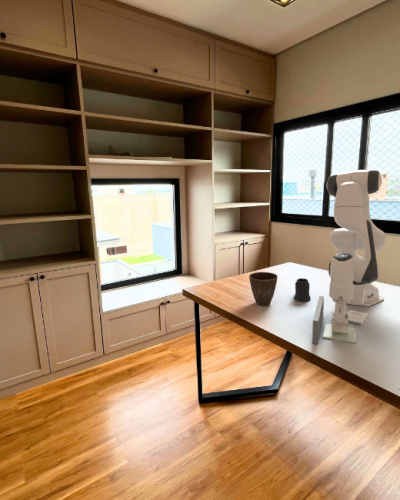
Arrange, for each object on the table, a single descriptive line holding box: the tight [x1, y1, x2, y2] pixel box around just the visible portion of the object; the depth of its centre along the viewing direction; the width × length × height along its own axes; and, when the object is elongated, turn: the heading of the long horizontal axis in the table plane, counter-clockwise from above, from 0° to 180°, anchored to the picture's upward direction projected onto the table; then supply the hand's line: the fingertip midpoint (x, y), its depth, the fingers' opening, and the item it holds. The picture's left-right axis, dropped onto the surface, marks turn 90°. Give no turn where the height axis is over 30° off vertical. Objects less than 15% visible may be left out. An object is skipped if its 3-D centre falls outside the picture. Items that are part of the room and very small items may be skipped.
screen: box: [311, 295, 325, 345], centre depth 127 cm, size 28×2×10 cm, turn 153°
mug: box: [293, 277, 312, 303], centre depth 162 cm, size 12×9×11 cm
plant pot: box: [248, 271, 278, 307], centre depth 157 cm, size 15×15×16 cm
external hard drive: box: [346, 309, 369, 326], centre depth 135 cm, size 2×8×12 cm
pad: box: [322, 323, 357, 344], centre depth 122 cm, size 12×12×1 cm
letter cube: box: [331, 311, 349, 333], centre depth 121 cm, size 6×6×6 cm
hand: (339, 324), depth 121 cm, fingers closed on letter cube, 6 cm apart
